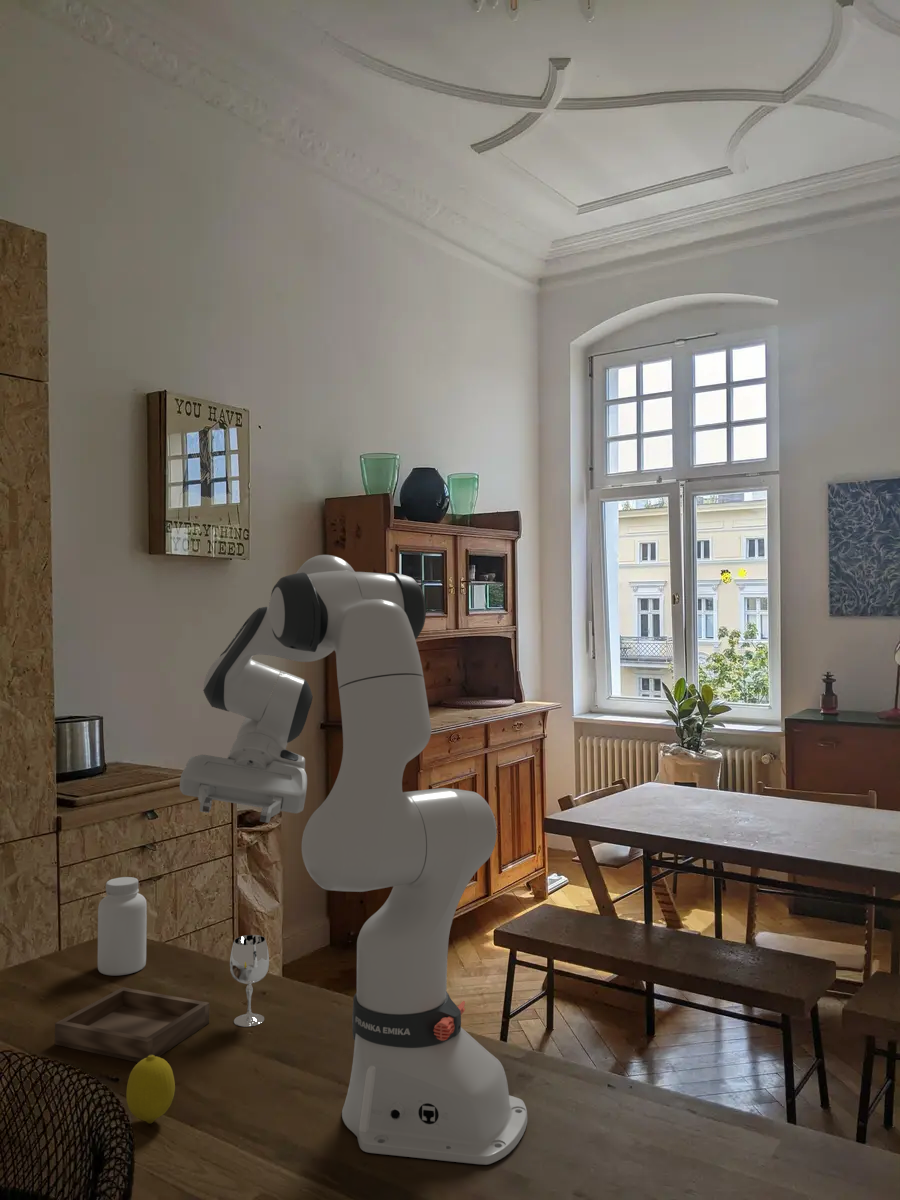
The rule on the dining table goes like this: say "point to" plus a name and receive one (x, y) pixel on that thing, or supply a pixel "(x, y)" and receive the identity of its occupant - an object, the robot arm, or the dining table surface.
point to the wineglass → (249, 970)
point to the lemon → (150, 1088)
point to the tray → (132, 1024)
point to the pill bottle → (122, 928)
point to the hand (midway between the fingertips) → (234, 813)
